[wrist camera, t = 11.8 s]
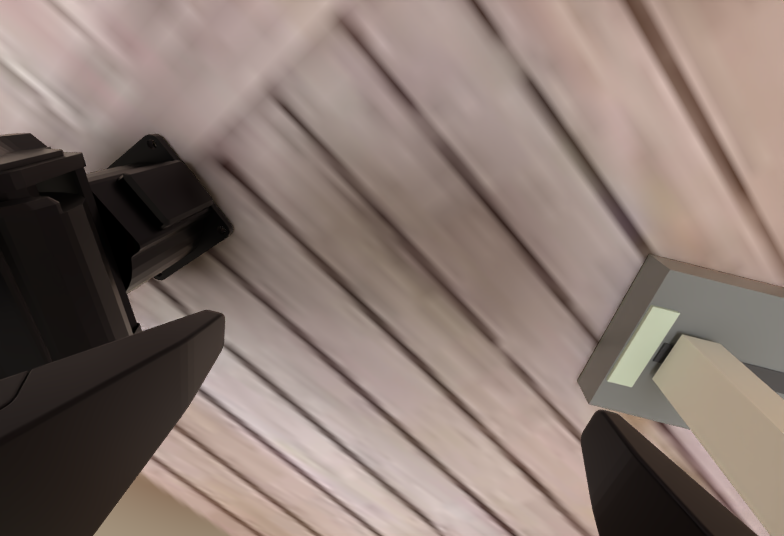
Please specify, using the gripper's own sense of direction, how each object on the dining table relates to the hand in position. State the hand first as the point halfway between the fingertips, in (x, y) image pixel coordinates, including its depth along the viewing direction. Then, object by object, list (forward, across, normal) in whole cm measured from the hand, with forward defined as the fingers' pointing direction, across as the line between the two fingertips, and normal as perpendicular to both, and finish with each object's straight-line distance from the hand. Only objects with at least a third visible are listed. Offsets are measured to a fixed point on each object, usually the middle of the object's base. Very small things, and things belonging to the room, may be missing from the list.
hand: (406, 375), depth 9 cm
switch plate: (+13, -18, +4) cm, 23 cm away
